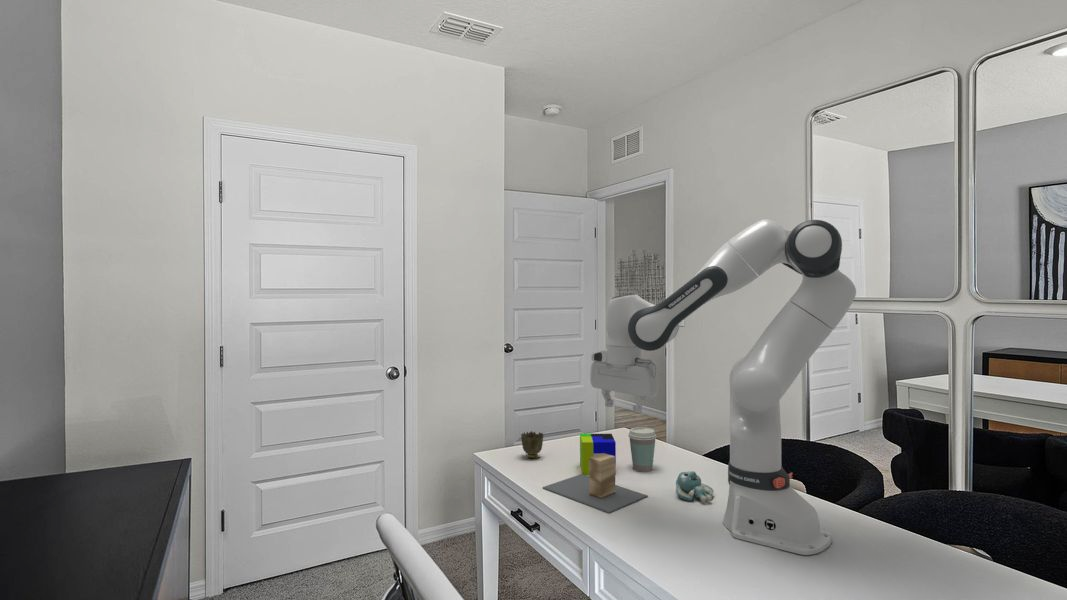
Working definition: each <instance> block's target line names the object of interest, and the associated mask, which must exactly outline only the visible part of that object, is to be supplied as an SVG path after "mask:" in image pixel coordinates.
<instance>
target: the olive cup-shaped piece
mask: <svg viewBox="0 0 1067 600" xmlns="http://www.w3.org/2000/svg"><path fill="white" fill-rule="evenodd" d="M520 437H521V444H522V445H521V446H522V449H523V452H525V454H527V455H526V457H527V459H529V460H535V459H537V458H538V457H539V454H540V452H541V451H542V449H543V444H544V443H543V442H544V433H543V432H540V431H539V432H538V433H536V431H532V430H531V431H530V432H529V431H526V432H523V433H520Z"/></svg>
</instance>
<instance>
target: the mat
mask: <svg viewBox="0 0 1067 600" xmlns="http://www.w3.org/2000/svg"><path fill="white" fill-rule="evenodd" d="M542 489H543V490H546V491H548V492H552V493H553V494H556V495H559V496H562V497H564V498H567V499H569V500H572V501H575V502H577V503H580V504H582V505H586V506H588V507H591V508H593V509H596V510H598V511H601V512H604V513H606V514H608V515H609V514H612V513H615V512H617V511H618V510H621V509H623V508H626V507H628V506H630V505H633V504H635V503H637V502H639V501H642V500H644V499H646V498H649V495H648V494H645V493H643V492H638V491H635V490H633V489H629V488H626V487H623V486H621V485H617V484H615V494H612V495H610V496H607V497H605V498H602V499H599V498H597V497H594V496H591V495H589V475H583V474H582V473H581V474H577V475H574V476H572V477H568V478H565V479H563V480H560V481H556V482H554V483H551V484H547V485H545V486H542Z"/></svg>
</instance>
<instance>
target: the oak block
mask: <svg viewBox="0 0 1067 600" xmlns="http://www.w3.org/2000/svg"><path fill="white" fill-rule="evenodd" d="M588 476H589V495H591V496H594V497H597V498H599V499H602V498H605V497H607V496H610V495H612V494H615V485H616V475H615V456H612V455H608V454H605V453H603V454H600V455H596V456H593V457H590V458H589V475H588Z"/></svg>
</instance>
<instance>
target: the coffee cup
mask: <svg viewBox="0 0 1067 600" xmlns="http://www.w3.org/2000/svg"><path fill="white" fill-rule="evenodd" d="M628 438H629V443H630V444H629V445H630V453H631V461H632V469H633V470H635V471H637V472H641V473H648V472H651V471H653V467H654V465H653V464H654V456H655V449H656V448H655V447H656V446H655V445H656V439H657V434H656V431H655V429H653V428H650V427H645V426H644V427H643V426H641V427H640V426H639V427H633V428H630V430H629V433H628Z"/></svg>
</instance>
